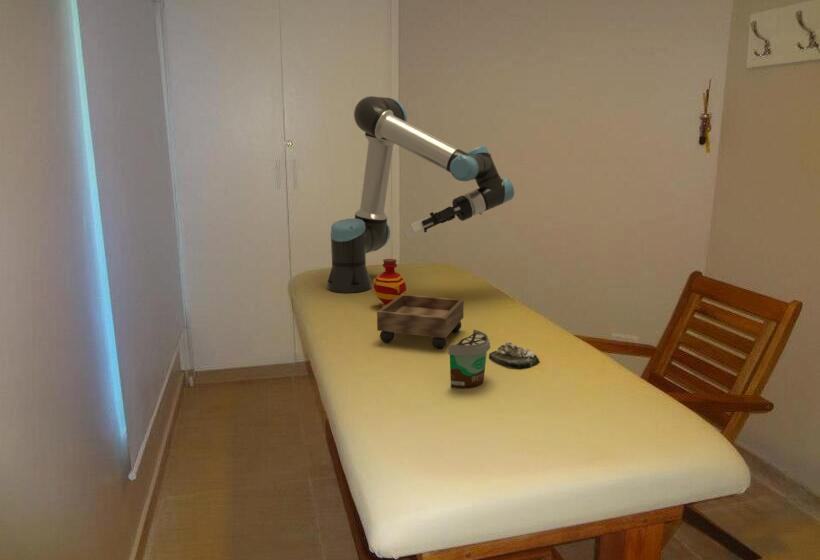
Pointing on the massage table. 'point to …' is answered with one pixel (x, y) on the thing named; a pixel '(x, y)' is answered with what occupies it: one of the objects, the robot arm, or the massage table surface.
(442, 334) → the dolly
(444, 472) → the massage table surface
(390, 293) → the potion bottle
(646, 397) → the massage table surface
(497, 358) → the grey lumpy piece
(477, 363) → the food container
